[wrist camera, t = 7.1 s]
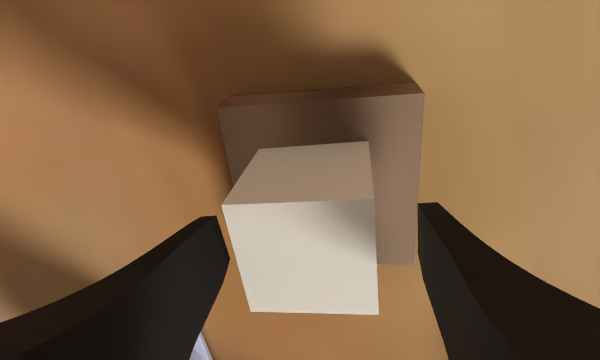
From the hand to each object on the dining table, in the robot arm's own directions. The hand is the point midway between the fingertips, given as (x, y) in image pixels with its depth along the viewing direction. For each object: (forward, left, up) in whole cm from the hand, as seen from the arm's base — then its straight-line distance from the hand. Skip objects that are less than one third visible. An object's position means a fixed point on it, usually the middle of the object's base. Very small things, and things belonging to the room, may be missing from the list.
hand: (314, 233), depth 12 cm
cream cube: (0, 0, -3) cm, 3 cm away
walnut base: (0, 0, -6) cm, 6 cm away
